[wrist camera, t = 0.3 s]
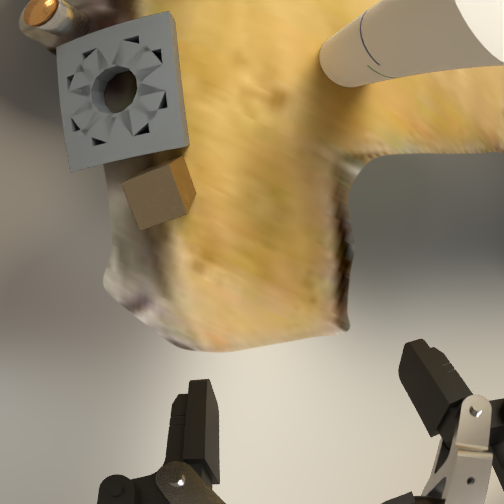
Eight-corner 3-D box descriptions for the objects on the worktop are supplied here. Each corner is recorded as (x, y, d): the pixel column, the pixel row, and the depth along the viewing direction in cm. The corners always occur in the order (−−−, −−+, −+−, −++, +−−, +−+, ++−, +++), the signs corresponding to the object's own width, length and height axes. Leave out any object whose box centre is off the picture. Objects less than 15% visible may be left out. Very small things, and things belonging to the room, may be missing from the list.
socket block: (70, 52, 27) (56, 47, 24) (175, 21, 28) (169, 11, 24) (84, 167, 34) (70, 172, 30) (189, 144, 34) (184, 146, 31)
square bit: (145, 169, 35) (121, 183, 27) (183, 154, 35) (168, 164, 26) (158, 206, 37) (140, 230, 29) (196, 193, 37) (187, 214, 28)
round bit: (64, 21, 25) (24, 2, 16) (90, 10, 25) (54, -14, 16) (64, 45, 27) (22, 30, 18) (90, 35, 27) (53, 15, 18)
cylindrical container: (346, 25, 29) (478, -53, 6) (382, 68, 31) (539, 41, 8) (307, 54, 31) (425, -29, 8) (346, 98, 33) (502, 85, 10)
